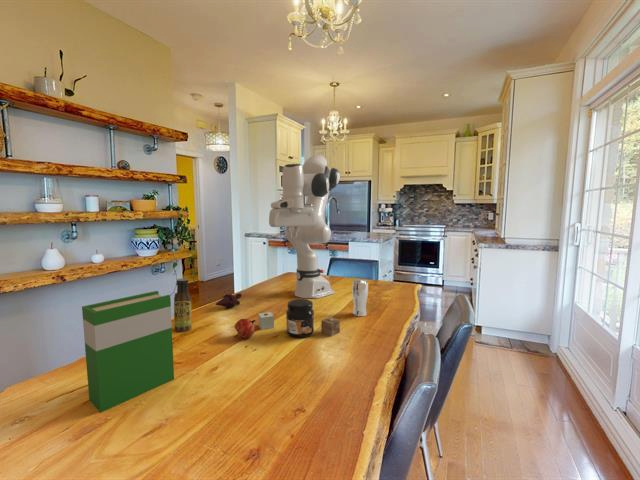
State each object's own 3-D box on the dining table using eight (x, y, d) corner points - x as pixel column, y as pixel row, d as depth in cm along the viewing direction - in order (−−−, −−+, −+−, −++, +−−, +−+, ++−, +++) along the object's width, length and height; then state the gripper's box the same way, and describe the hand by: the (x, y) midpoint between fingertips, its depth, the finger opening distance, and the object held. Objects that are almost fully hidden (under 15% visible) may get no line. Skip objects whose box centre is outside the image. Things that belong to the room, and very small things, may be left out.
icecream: (222, 300, 138) (247, 295, 150) (212, 293, 142) (237, 289, 154) (219, 314, 139) (244, 308, 152) (208, 307, 143) (234, 302, 155)
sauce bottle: (173, 333, 117) (170, 281, 115) (175, 327, 123) (173, 278, 121) (191, 331, 119) (189, 280, 117) (193, 325, 125) (191, 277, 123)
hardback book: (160, 370, 91) (156, 290, 89) (174, 379, 87) (170, 295, 84) (89, 400, 77) (81, 306, 75) (100, 412, 73) (93, 313, 70)
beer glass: (367, 311, 143) (367, 279, 142) (368, 317, 136) (368, 283, 135) (351, 311, 144) (352, 279, 142) (352, 316, 137) (352, 283, 135)
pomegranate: (236, 348, 111) (258, 332, 110) (223, 331, 111) (246, 315, 110) (242, 341, 118) (263, 326, 118) (231, 326, 118) (251, 310, 118)
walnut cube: (329, 329, 123) (329, 316, 123) (339, 332, 120) (339, 319, 119) (321, 333, 119) (321, 319, 119) (331, 336, 116) (331, 323, 116)
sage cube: (270, 323, 128) (270, 311, 128) (274, 328, 124) (273, 315, 123) (258, 325, 126) (258, 313, 126) (261, 330, 122) (261, 317, 121)
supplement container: (288, 340, 112) (288, 308, 111) (284, 329, 123) (284, 299, 121) (317, 337, 115) (317, 305, 114) (310, 326, 125) (310, 297, 124)
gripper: (310, 204, 136) (310, 235, 138) (267, 203, 125) (267, 238, 126) (318, 204, 131) (318, 236, 133) (274, 203, 119) (274, 239, 121)
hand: (293, 237), depth 129 cm, fingers closed
